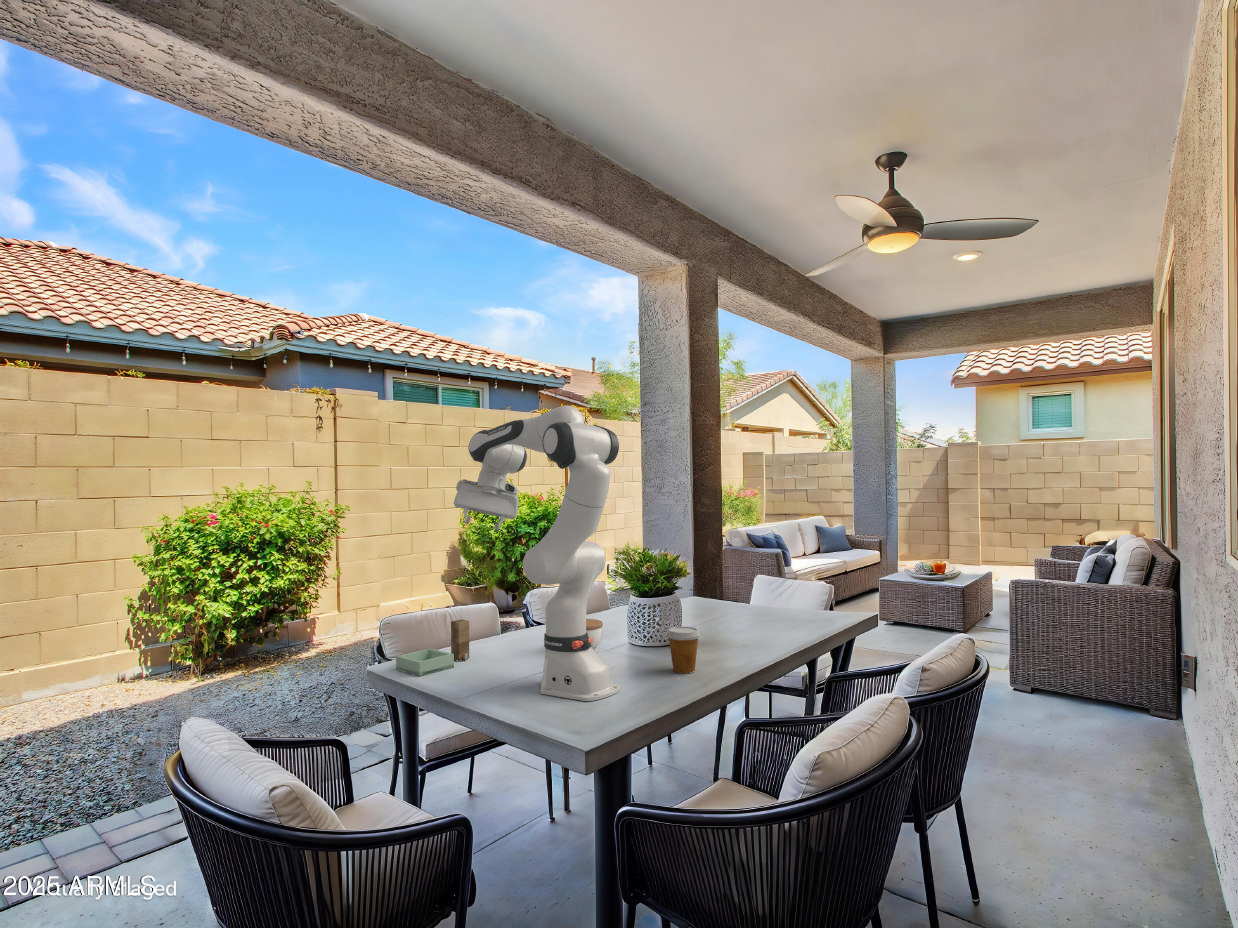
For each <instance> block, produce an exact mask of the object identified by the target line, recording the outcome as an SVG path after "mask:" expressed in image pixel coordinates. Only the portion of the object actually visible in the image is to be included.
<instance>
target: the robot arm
mask: <svg viewBox="0 0 1238 928" xmlns="http://www.w3.org/2000/svg"><path fill="white" fill-rule="evenodd" d="M468 443H469V444H468V453H469V455H470V457H471V459H472V461H473V462H474V461H475V462H478V463H481V469H480V470H479V473H478V477H477V481H474V480H473V481H472V480H468V479H461V480H458V481H457V483H456V489H455V490H456V494H455V497H454V500H453V505H454V507H455V508H458V509H463V512H462V513H463V515H464V522H463V523H464V524H468V525H469V524H470V523H471V522H470V521H471V518H472V517H470V516H468V512H469V511H473V512H475V513H476V512H477V513H480V514H486V515H488V516H494V517H497V518H499V522H498V523H497V522H495V524H494V528H493V529H494V530H496V531H499V530H500V526H501V524H503V522H504V521H505V520H506V519H507V520H510V521H511V520H513V521H514V520H515V519H516V518H517V517H518V512H519V498H518V496H517V495H518V492H519V489H518V487H516V486H515V485H514V484H511V483H510V482H508V481H507V474H515V473H516V474H517V473H518V472H521V471H522V470H523V469H525V466H526V463H527V459H528V454H527V450H526V449H528V450H532V451H535V452H538V453H543V454H544V453H545V455H546V456H547V457H548V459H549V460H551V461H552V462H553V463H555V464H556V465H557V467H558V468H559V469H561V470H564V469H567V468H568V471H569V480H568V483H567V485H566V489H565V492H564V496H563V499H562V502H561V505H560V508H559V511H558V513H557V516H556V518H555V520H554V522H553V524H552V525H551V527H550V529H549V530H548V531H547V533H546V534H545V535H544V536H543V538H542V539H540V541H539V542H538V543H536V544H535V545H534V546H532V547H531V548H529V549H528V550H527V551H526V553H525V554H524V556H523V560H522V568H523V572H524V575H525V577H526V578H527V580H528V581H529V582H531V583H532V584H535V585H543V586H544V585H546V586H552V585H558V584H559V585H558V588H557V591H556V593H555V594H554V595H553V596H552V597H551V598H550V599H549V600H548V601H547V603H546V606H545V632H544V636H543V637H544V639H543V647H544V648H545V655H544V659H543V660H544V661H543V668H542V669H543V670H542V676H541V680H540V684H539V687H540V691H539V693H540V694H542V695H548V696H553V697H560V698H564V699H565V698H566V699H571V700H577V701H582V702H583V701H584V702H591V701H592V702H593V701H598V700H601V699H606V698H608V697H611V696H613V695H615V694H617V693H618V692H619V691H621V684H619V683H617V682H615V681H613V679H612V672H611V668H610V666H609V664H608V663H607V662H606V661H605V660H604V659H603V658H602V657H601V656H600V655H599V654H598V653H597V652H596V650H593V649H592V648H591V642H594V641H591V640H592V639H594V637H593V638H589V636H588V633H587V632H586V619H587V610H588V609H587V607H588V600H589V597H590V594H591V591H592V588H593V585H594V583H595V582H596V580H597V579H598V577H599V575H601V574H602V572H603V571H604V570H605V566H606V560H607V559H606V554H605V551H604V549H603V547H602V546H601V545H600V544H599V543H597V542H593V541H589V540H588V538H591V536H593V535H594V534H595V533H596V531H597V529H598V526H599V523H600V520H601V518H602V514H603V512H604V511H603V510H604V508H605V505H606V502H607V497H608V493H609V489H610V482H611V471H610V468H609V466H608V465H610V464H612V463H613V462H614V461H615V460H616V458H617V457H618V455H619V452H620V451H619V450H620V443H619V438H618V435H617V434H616V433H615V432H613V430H610V429H609V428H606V427H603V426H600V425H597V424H593V425H591V424H585V422H584V417H583V415H582V413H581V412H580V410H578V408H576V407H574V406H571V405H567V404H566V405H562V406H558V407H555V408H552V409H550V410H548V411H546V412H545V413H542V414H540V415H537V416H535V417H531V418H525V419H516V420H512V421H509V422H505V423H503V424H501V425H499V426H495V427H494V428H491V429H482V430H479V431H478V432H475V434H473V436H472V437H471V438H470V441H469V442H468ZM587 540H588V541H587Z"/></svg>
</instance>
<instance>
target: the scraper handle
mask: <svg viewBox="0 0 1238 928" xmlns="http://www.w3.org/2000/svg"><path fill="white" fill-rule="evenodd" d="M450 646H451V647H450V653H452V654H454V660H458V661H460V660H467V661H468V660H469V659H470V620H467V619H457V620H452V621H450ZM468 658H469V659H468ZM458 661H457V662H458ZM460 662H461V661H460Z"/></svg>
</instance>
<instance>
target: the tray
mask: <svg viewBox="0 0 1238 928" xmlns="http://www.w3.org/2000/svg"><path fill="white" fill-rule="evenodd" d="M451 667H453V668H455V661H454V654H452V653H451V652H449V651H448V652H447V651H443V650H439V649H435V648H431V647H429V648H426V649H421V650H418V651H413V652H409V653H405V654H399V655H396V656H395V670H397V671H400V672H402V671H403V672H402V673H406V674H410V675H412V674H413V676H417V677H424V676H427V675H430V674H436V673H438V672H437V671H439V672H441V671H440V670H442V671H444V670H443V669H446V670H449V669H448V668H450V669H452V668H451Z"/></svg>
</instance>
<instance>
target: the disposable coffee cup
mask: <svg viewBox="0 0 1238 928" xmlns="http://www.w3.org/2000/svg"><path fill="white" fill-rule="evenodd" d="M666 635H667V636H668V637H667V638H668V641H669V649H670V655H671V663H672V671H673V672H674V671H675V672H674V673H676V672H677V673H676V674H680V673H689V674H691V673H690V672H693V671H696V661H697V654H698V645H699V644H698V643H699V638H700V635H701V634H700V631H699V629H698V628H696V627H692V626H673V627H670V628H669V629H668V632H667V634H666ZM693 673H694V672H693Z"/></svg>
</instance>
